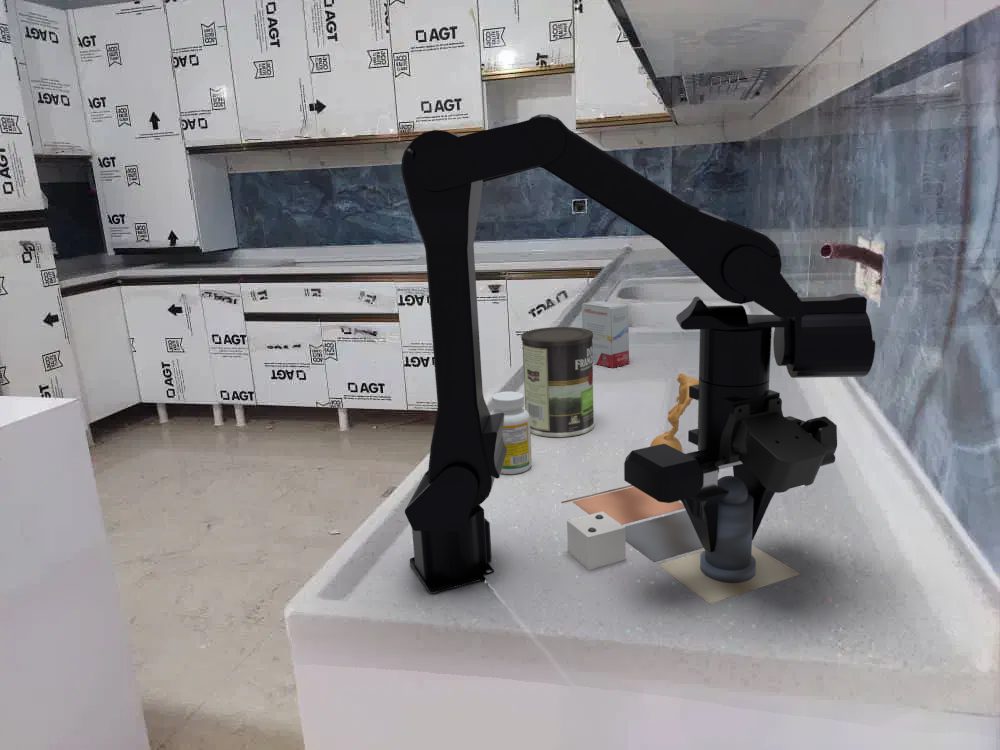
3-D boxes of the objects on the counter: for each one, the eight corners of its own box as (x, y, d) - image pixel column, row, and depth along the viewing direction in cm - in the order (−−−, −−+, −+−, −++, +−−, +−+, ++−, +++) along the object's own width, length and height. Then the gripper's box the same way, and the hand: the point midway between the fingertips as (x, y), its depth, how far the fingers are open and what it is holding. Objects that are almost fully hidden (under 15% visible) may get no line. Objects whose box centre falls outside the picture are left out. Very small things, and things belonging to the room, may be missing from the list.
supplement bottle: (523, 477, 92) (520, 403, 90) (483, 472, 94) (479, 400, 92) (537, 461, 97) (535, 391, 95) (499, 457, 99) (496, 388, 97)
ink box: (630, 364, 144) (630, 304, 141) (611, 368, 141) (611, 307, 138) (600, 357, 151) (599, 299, 148) (582, 361, 148) (580, 302, 145)
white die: (589, 576, 69) (588, 534, 68) (568, 557, 73) (566, 517, 71) (625, 565, 70) (625, 524, 69) (603, 548, 74) (602, 508, 73)
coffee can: (603, 418, 113) (602, 327, 109) (581, 441, 104) (579, 342, 100) (540, 413, 117) (537, 325, 114) (513, 434, 108) (509, 339, 105)
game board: (706, 617, 62) (706, 611, 61) (561, 505, 84) (561, 500, 84) (815, 581, 66) (815, 575, 66) (650, 484, 88) (650, 479, 88)
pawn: (724, 588, 65) (727, 492, 62) (689, 563, 69) (691, 473, 67) (767, 574, 66) (771, 480, 64) (730, 551, 71) (733, 463, 68)
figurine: (651, 452, 98) (652, 364, 95) (698, 454, 97) (700, 365, 94) (647, 476, 91) (647, 381, 88) (698, 479, 89) (700, 382, 86)
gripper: (707, 422, 52) (702, 618, 56) (895, 382, 59) (879, 559, 63) (620, 386, 62) (621, 555, 66) (790, 356, 69) (782, 509, 73)
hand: (728, 545), depth 67 cm, fingers closed on pawn, 4 cm apart
